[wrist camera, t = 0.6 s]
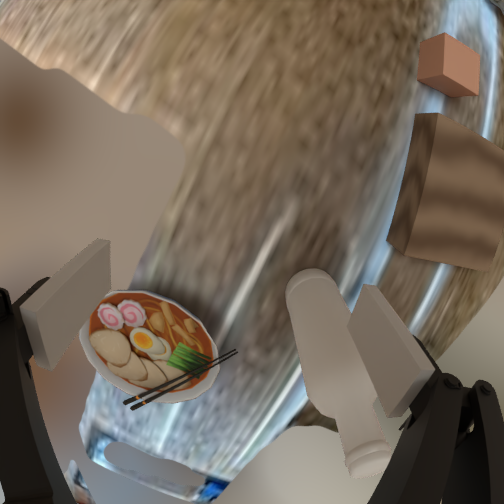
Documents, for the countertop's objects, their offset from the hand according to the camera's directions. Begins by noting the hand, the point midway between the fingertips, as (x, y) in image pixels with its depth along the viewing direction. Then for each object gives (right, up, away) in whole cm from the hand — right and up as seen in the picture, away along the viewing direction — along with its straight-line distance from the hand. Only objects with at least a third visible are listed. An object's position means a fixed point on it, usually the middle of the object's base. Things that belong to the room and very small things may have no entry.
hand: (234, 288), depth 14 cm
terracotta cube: (+29, +30, +17) cm, 45 cm away
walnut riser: (+33, +11, +24) cm, 42 cm away
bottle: (+10, -4, +30) cm, 32 cm away
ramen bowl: (-15, -11, +33) cm, 38 cm away
